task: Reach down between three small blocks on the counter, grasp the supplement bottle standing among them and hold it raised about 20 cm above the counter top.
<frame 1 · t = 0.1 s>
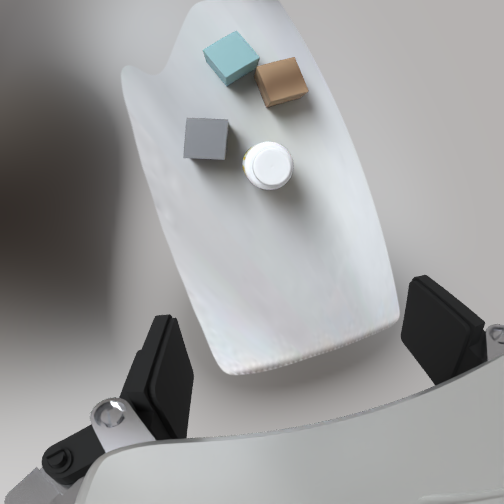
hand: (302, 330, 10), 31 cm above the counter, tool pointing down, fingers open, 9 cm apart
gray block: (208, 140, 37), on the counter
walnut block: (276, 87, 35), on the counter
teal block: (231, 64, 33), on the counter
supplement bottle: (262, 163, 38), on the counter
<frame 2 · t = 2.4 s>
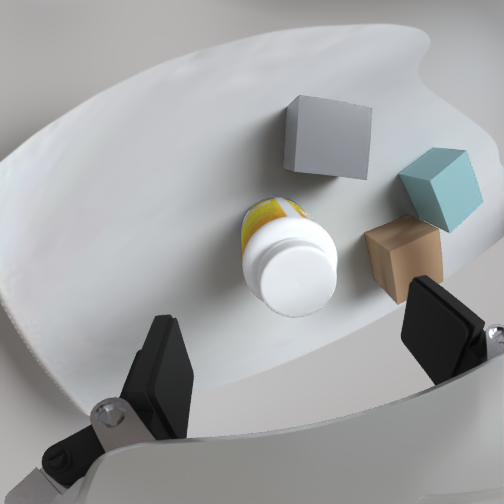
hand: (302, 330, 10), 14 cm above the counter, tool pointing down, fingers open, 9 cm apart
gray block: (315, 140, 21), on the counter
walnut block: (391, 247, 25), on the counter
teal block: (426, 182, 23), on the counter
supplement bottle: (274, 228, 24), on the counter
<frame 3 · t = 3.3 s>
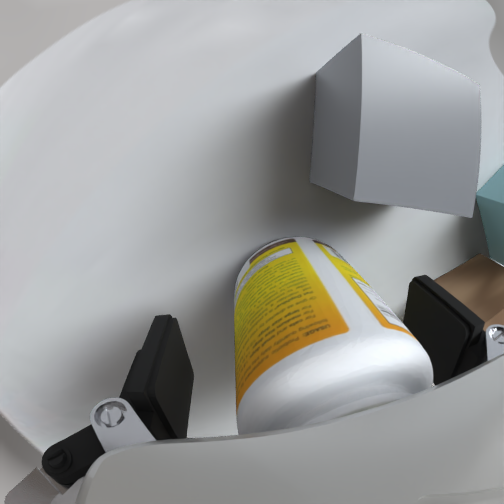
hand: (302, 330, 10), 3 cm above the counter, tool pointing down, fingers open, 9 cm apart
gray block: (365, 134, 11), on the counter
walnut block: (454, 300, 15), on the counter
teal block: (502, 206, 13), on the counter
supplement bottle: (291, 286, 14), on the counter
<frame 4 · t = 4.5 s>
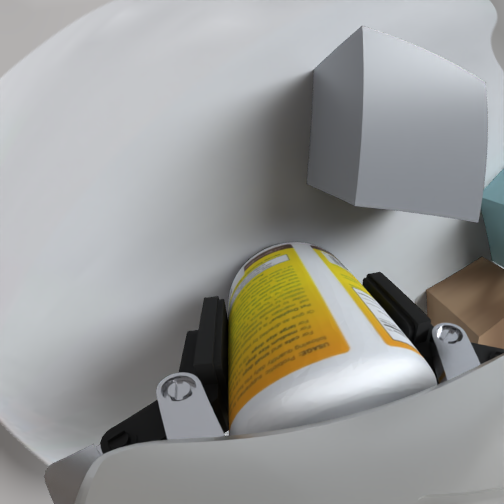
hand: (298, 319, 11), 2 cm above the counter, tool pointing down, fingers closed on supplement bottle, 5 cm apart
gray block: (365, 133, 11), on the counter
walnut block: (455, 304, 14), on the counter
supplement bottle: (288, 293, 13), on the counter, touching gripper
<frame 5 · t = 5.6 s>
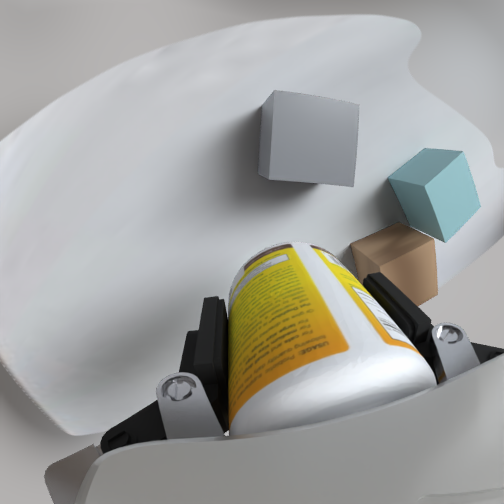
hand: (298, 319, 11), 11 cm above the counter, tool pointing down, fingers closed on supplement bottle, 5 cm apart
gray block: (294, 142, 19), on the counter
walnut block: (380, 258, 23), on the counter
teal block: (418, 186, 21), on the counter
supplement bottle: (288, 293, 13), point 8 cm above the counter, touching gripper
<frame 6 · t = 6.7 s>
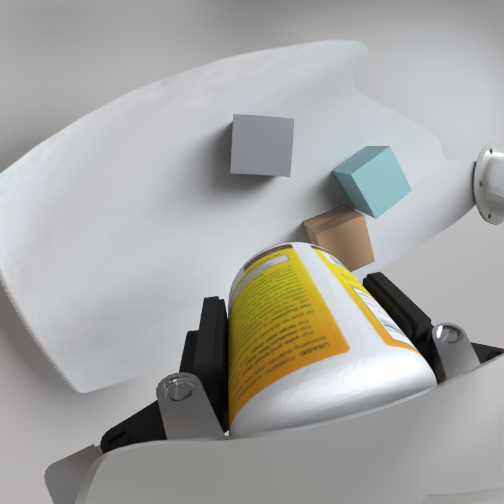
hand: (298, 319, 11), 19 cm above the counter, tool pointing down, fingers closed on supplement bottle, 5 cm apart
gray block: (256, 146, 27), on the counter
walnut block: (330, 233, 31), on the counter
teal block: (361, 177, 29), on the counter
supplement bottle: (288, 293, 13), point 17 cm above the counter, touching gripper
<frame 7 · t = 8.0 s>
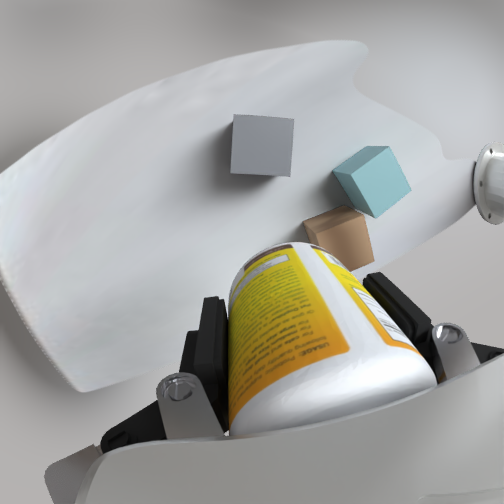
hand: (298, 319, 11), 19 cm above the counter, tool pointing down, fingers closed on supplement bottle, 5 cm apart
gray block: (257, 146, 27), on the counter
walnut block: (330, 233, 31), on the counter
teal block: (361, 177, 29), on the counter
supplement bottle: (288, 293, 13), point 17 cm above the counter, touching gripper
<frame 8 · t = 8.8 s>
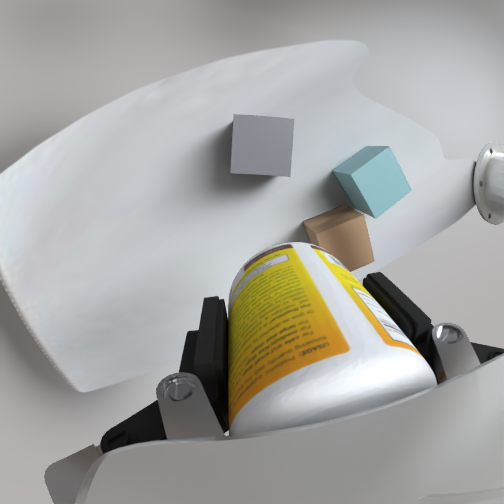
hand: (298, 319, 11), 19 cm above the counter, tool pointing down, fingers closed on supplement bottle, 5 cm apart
gray block: (257, 146, 27), on the counter
walnut block: (330, 233, 31), on the counter
teal block: (361, 177, 29), on the counter
supplement bottle: (288, 293, 13), point 17 cm above the counter, touching gripper
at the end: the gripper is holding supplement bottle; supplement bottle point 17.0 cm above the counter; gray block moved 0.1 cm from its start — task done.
